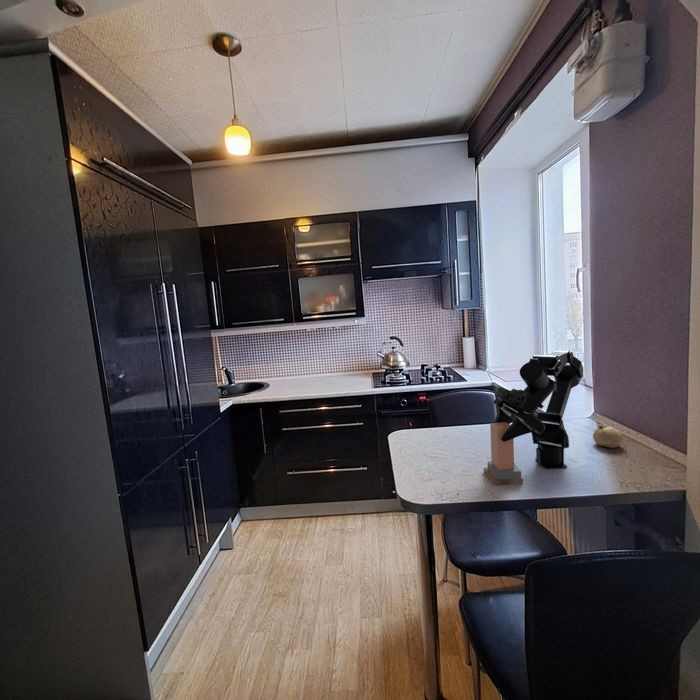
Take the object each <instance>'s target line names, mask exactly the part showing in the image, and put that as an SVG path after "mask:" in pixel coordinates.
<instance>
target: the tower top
mask: <svg viewBox="0 0 700 700" xmlns="http://www.w3.org/2000/svg"><path fill="white" fill-rule="evenodd" d="M487 468H488V470H489V471H490V473H491V475H492V476H493V478H494V479H495V480H502V479H521V477H522V471H521V469H520V468H519V467H518V466H517V465H516V463H514V469H507V470H498V469H497V468H496V467H495V466H494V465H493V464H492V463H491V460H490V461H487Z"/></svg>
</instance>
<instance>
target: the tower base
mask: <svg viewBox="0 0 700 700" xmlns="http://www.w3.org/2000/svg"><path fill="white" fill-rule="evenodd" d="M483 473H484V475H485V474H486V475H485V476H486V477H487V479H488V478H489V479H488V480H489V481H490V483H491V485H493V486H507V485H508V486H509V485H523V484H524V478H523V477H522V476H521V479H502V480H495V479H494V478H493V476H492V475H491V473H490V471H489V470H488V467H483Z"/></svg>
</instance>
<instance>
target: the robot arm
mask: <svg viewBox="0 0 700 700" xmlns="http://www.w3.org/2000/svg"><path fill="white" fill-rule="evenodd" d="M582 363H583V362H582V361H581V360H580V359H578V357H575V355H574V353H573V351H571V350H554V351H553V352H552V353H550V354H547V355H546V354H545V355H542V354H534V355H533V356H532V357H531V358H529V361H528V362H526V363H524V364H522V366H521V368H520V369H519V375H520V378H521V379H522V381H523V382H524V383H525V385H526V387H525V388H524V389H515V388H512V389H511V390H510V389H507V388H505V387H502V386H498V389H497V391H496V393H495V395H494V396H495V399H494V400H493V401H492V403H493V404H494V405H495V409H496V417H495V419H494V422H493V423H501V422H506V423H508V424H509V425H510V427H509V428H508V430H507V431H506V432H505V434H504V435H503V437H502V438H501V440H502V441H503V442H505V441H508V440H511V439H513V438H514V439H515V438H518V437H521V436H524V435H527V434H530V433H531V436H532V443H533V444H534V445H537V447H536V448H535V451H536V452H535V455H536V458H535V459H534V460H535V461H536V462H537V463H538V464H539V465H540V466H541V467H543V469H545V470H546V469H561V468H562V469H564V468H568V465H567V464H566V463H565V449H569V448H570V440H569V439H570V437H569V436H568V433H567V430H566V428H565V424H564V419H563V417H564V414H565V410H566V408H567V403H568V402H569V397H570V395H571V392H572V389H573V388H575V387H576V386H578V385H579V384H580V382H581V379H583V378H584V367H583V364H582ZM549 376H550V377H553V379H554V380H553V379H551V378H550V377H549ZM550 395H551V396H550ZM549 396H550V398H549V402H548V405H547V407H546V409H545V410H546V411H545V412H541V411H540V412H539V413H537V414H536V415H537V416H536V415H535V414H534V413H535V412H536V410H537V409H541V410H542V409H543V408H544V407H545V405H543V403H544V402H545V401H546V400H547V399H548V397H549Z"/></svg>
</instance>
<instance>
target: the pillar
mask: <svg viewBox="0 0 700 700" xmlns="http://www.w3.org/2000/svg"><path fill="white" fill-rule="evenodd" d="M510 425H511V424H508V423H506V422H501V423H494V422H493V423H492V422H491V423H490V427H489V428H490V452H491V456H490V457H491V460H490V461H491V463H492V464H493V465H494V466H495V467H496V468H497V469H498V470H507V469H514V464H515V447H514V446H515V445H514V442H515V441H514V439H515V438H513V439H511V440H508V441H505V442H503V441H502V440H501V438H502V437H503V435H504V434H505V432H506V431H507V430H508V428H509V427H510Z"/></svg>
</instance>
